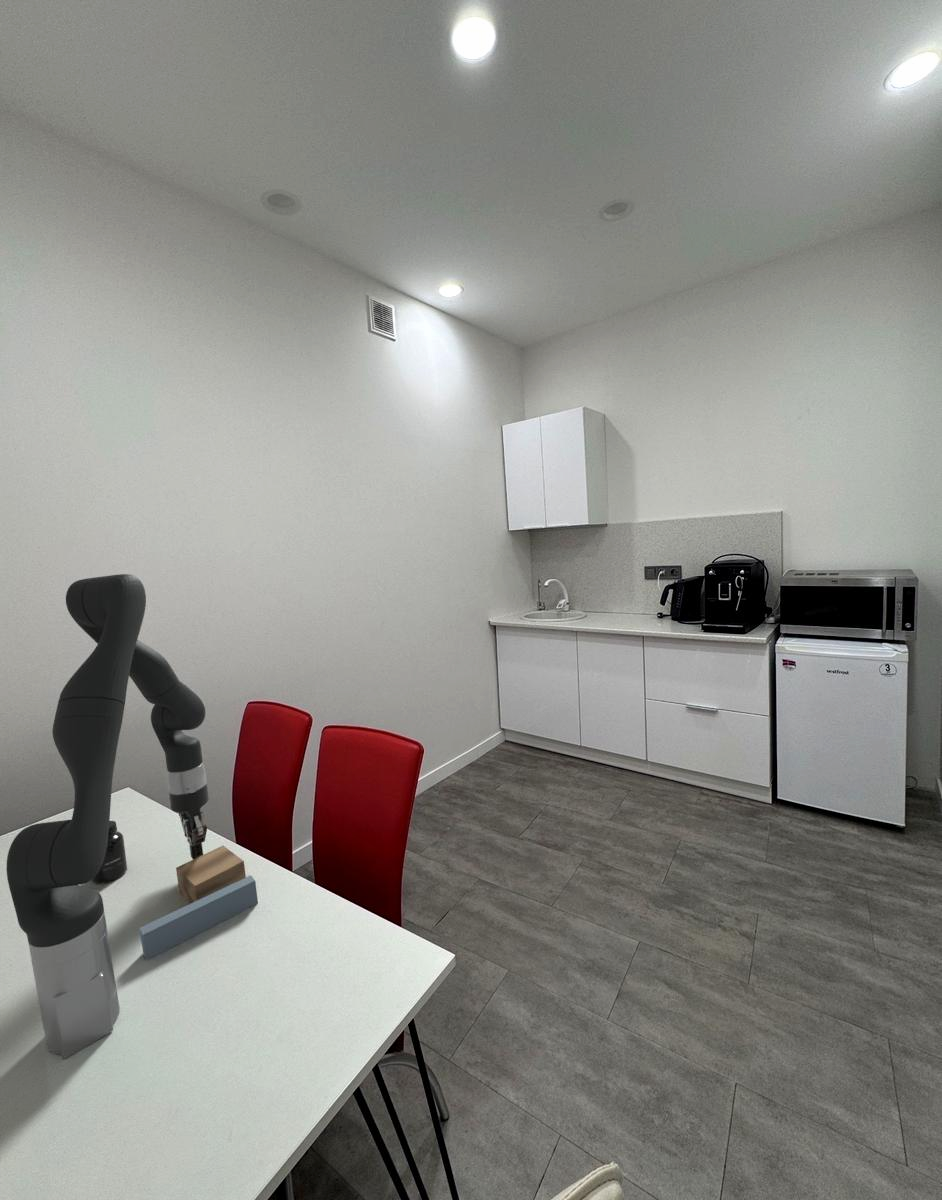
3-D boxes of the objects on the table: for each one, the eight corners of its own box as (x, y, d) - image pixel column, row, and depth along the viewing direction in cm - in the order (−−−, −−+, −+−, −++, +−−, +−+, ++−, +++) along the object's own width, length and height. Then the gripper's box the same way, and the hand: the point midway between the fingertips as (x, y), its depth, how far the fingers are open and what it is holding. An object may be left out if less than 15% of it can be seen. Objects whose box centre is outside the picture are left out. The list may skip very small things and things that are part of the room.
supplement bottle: (114, 884, 117) (106, 833, 116) (84, 885, 117) (76, 835, 116) (134, 865, 124) (127, 817, 123) (106, 866, 124) (98, 818, 123)
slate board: (257, 903, 108) (255, 880, 107) (146, 960, 94) (142, 934, 94) (253, 897, 110) (250, 875, 109) (143, 953, 96) (139, 927, 96)
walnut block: (246, 886, 114) (243, 860, 113) (198, 913, 106) (195, 885, 105) (226, 869, 120) (223, 845, 119) (179, 893, 113) (175, 867, 112)
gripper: (161, 782, 120) (171, 853, 122) (177, 800, 110) (187, 877, 112) (196, 771, 125) (205, 839, 127) (215, 787, 115) (224, 861, 117)
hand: (197, 857), depth 119 cm, fingers closed
